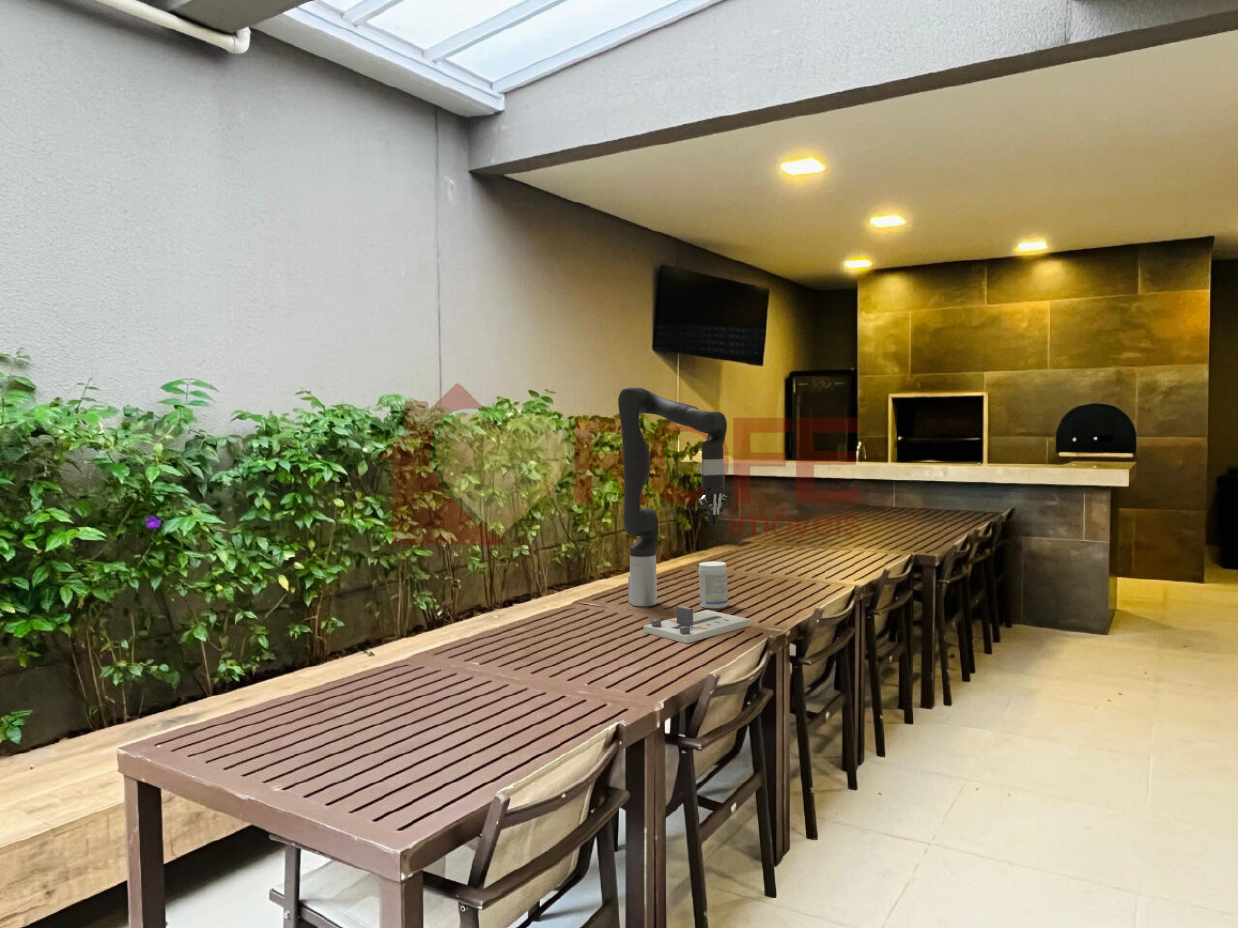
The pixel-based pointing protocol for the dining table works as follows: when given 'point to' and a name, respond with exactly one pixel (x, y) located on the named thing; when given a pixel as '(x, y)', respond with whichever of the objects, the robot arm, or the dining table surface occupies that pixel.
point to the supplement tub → (713, 585)
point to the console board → (696, 626)
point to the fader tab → (684, 615)
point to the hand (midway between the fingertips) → (713, 525)
